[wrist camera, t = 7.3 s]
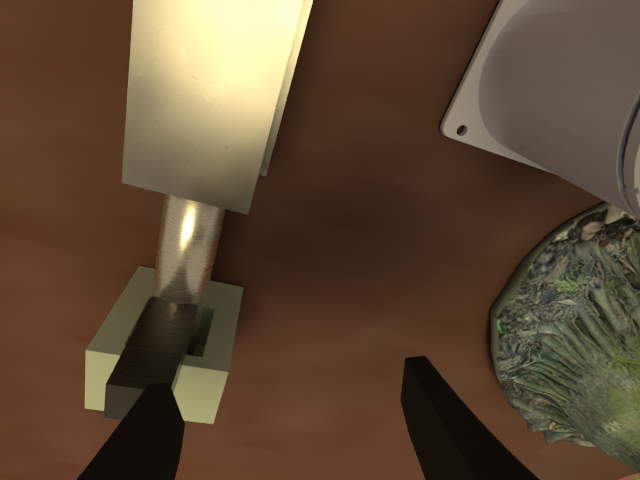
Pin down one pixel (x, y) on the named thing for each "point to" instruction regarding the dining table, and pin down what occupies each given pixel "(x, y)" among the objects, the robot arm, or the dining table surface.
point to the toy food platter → (632, 477)
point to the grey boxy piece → (208, 94)
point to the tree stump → (576, 334)
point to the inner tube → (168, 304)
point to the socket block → (198, 370)
